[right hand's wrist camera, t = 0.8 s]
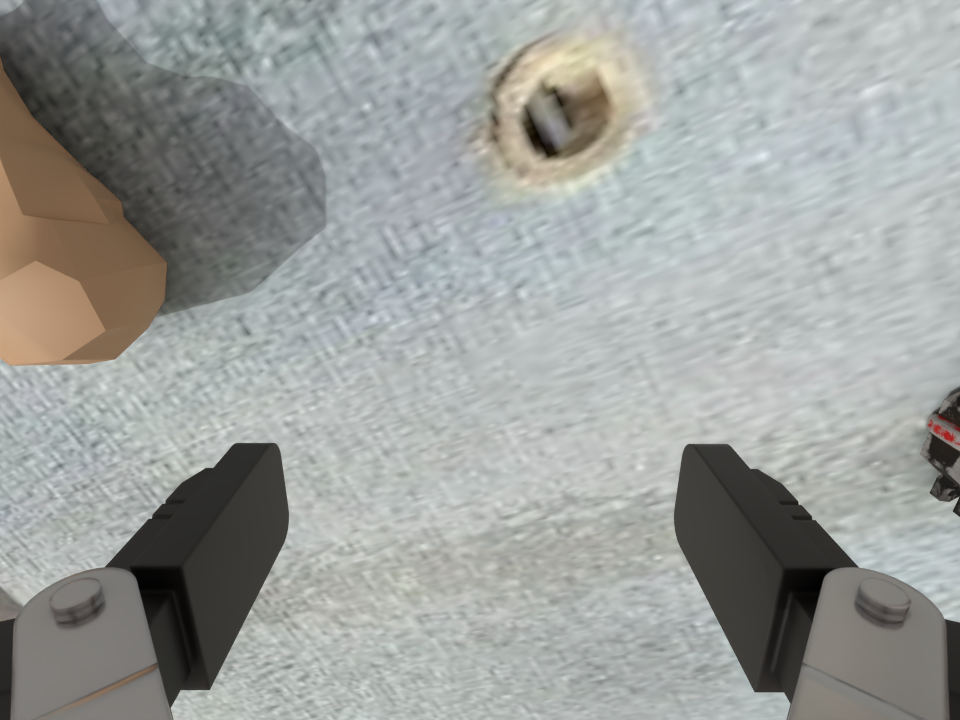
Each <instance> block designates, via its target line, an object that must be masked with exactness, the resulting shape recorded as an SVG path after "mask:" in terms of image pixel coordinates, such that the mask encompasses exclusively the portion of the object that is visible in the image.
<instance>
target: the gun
mask: <svg viewBox="0 0 960 720" xmlns="http://www.w3.org/2000/svg"><path fill="white" fill-rule="evenodd" d="M926 427H927V429H928V430H929V431H930V433H929V435H928V437H927V440H926V442H925V444H924V446H923V449H922V451H921V453H920V454H921V455H922V456H923V457H924V458H925V459H926V460H927V461H928V462H929V463H930V464H931V465H932V466H933V467H934V468H935V469H936V470H937V471H938V472H939V474H938V477H937V479H936V481H935V483H934V485H933V487H932V489H931V491H930V494H932V495H933V496H934V497H935V498H937V499H938V500H939V501H947V502H950V501H951V500H953V499H955V498H957V497H959V496H960V391H959V392H957V393H955V394H953V395H951V396H949V397H948V398H946V399H944V401H943V403H942V406H941V408H940V410H939V412H938V414H932V415H930V416H929V418H928V421H927V424H926ZM953 512H954V513H956V514H957V515H958V516H959V517H960V497H959V499H958V501H957V504H956V506H955V508H954V510H953Z"/></svg>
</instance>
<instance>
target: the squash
mask: <svg viewBox="0 0 960 720" xmlns="http://www.w3.org/2000/svg"><path fill="white" fill-rule="evenodd" d="M166 273H167V262H166V261H165V260H164V259H163V258H162V257H161V255H160V254H159V253H158V252H157V251H156V250H155V249H154V248H153V247H152V246H151V245H150V244H149V243H148V242H147V241H146V240H145V239H144V238H143V237H142V236H141V235H140V234H139V233H138V232H137V230H136V229H135V228H134V227H133V226H132V225H131V224H130V223H129V222H128V221H127V220H126V219H125V218H124V215H123V209H122V203H121V201H120V200H119V199H118V198H117V197H116V196H115V195H114V194H112V193H111V192H110V191H109V190H108V189H107V188H106V187H105V186H104V185H103V184H102V183H101V182H100V181H98V180H97V179H96V178H95V177H93V176H92V175H91V174H90V173H89V172H88V171H87V170H86V169H85V168H84V167H83V166H82V165H80V164H79V163H78V162H77V161H76V160H75V159H74V158H73V157H72V156H71V155H70V154H69V153H68V152H67V151H66V150H65V149H64V148H63V147H62V146H61V145H60V144H59V143H58V142H57V141H56V140H55V139H54V138H53V137H52V136H51V135H50V134H49V133H48V132H47V131H46V130H45V129H44V128H43V127H42V126H41V125H40V124H39V123H38V122H37V121H36V120H35V119H34V118H33V117H32V115H31V113H30V112H29V110H28V109H27V107H26V105H25V104H24V102H23V100H22V99H21V97H20V96H19V94H18V92H17V91H16V89H15V88H14V86H13V84H12V83H11V81H10V79H9V78H8V76H7V75H6V73H5V71H4V68H3V65H2V61H1V57H0V358H1V359H2V360H4V361H5V362H6V363H7V364H9V365H10V366H11V365H64V364H90V363H96V362H102V361H108V360H113V359H116V358H117V357H118V356H119V355H120V354H121V353H122V352H123V351H124V350H125V349H127V348H128V347H129V346H130V345H131V344H132V343H133V342H134V341H135V340H136V339H137V338H138V337H139V336H140V335H141V334H142V333H143V332H144V331H146V330H147V329H148V327H149V326H150V324H151V322H152V321H153V319H154V317H155V316H156V314H157V312H158V311H159V309H160V307H161V306H162V304H163V302H164V301H165V287H166Z"/></svg>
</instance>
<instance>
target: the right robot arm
mask: <svg viewBox="0 0 960 720" xmlns="http://www.w3.org/2000/svg"><path fill="white" fill-rule="evenodd" d="M288 523H289V510H288V502H287V495H286V488H285V481H284V474H283V467H282V459H281V453H280V450H279V447H278V446H277V444H275V443H236V444H234V445H233V446H232V447H231V448H230V449H229V450H228V451H227V453H226V454H225V455H224V456H223V457H222V459H221V460H220V461H219V462H218V463H217V464H216V466H215V467H214V468H205V469H204V470H202V471H200V472H199V473H197V474H196V475H194V476H192V477H191V478H189V479H187V480H186V481H184V482H182V483H181V484H180V485H179V486H178V487H177V489H176V490H175V491H174V492H173V493H172V494H171V495H170V496H169V497H168V498H167V500H166V503H165V504H162V505H161V506H160V507H159V508H158V509H157V511H156V512H155V513H154V514H153V515H152V519H148V520H147V522H146V523H145V524H144V525H143V526H142V527H141V528H140V529H139V530H138V531H137V532H136V534H135V535H134V536H133V537H132V538H131V539H130V540H129V541H128V542H127V543H126V545H125V546H124V547H123V548H122V549H121V550H120V551H119V552H118V553H117V554H116V556H115V557H114V558H113V559H112V560H111V561H110V562H109V563H108V564H107V565H106V566H105V567H104V568H96V569H91V570H87V571H83V572H80V573H77V574H74V575H71V576H69V577H66V578H64V579H62V580H60V581H58V582H56V583H54V584H52V585H50V586H49V587H47V588H45V589H44V590H42V591H41V592H39V593H38V594H37V595H35V596H34V597H33V598H32V599H31V600H30V601H28V603H27V604H26V605H25V606H24V607H23V608H22V609H21V611H20V612H19V613H18V615H17V617H16V618H15V619H10V620H6V621H1V622H0V720H173V716H172V712H171V709H170V708H171V706H172V705H173V703H174V701H175V699H176V697H177V696H178V694H179V692H180V690H210V688H211V686H212V684H213V682H214V680H215V678H216V676H217V675H218V673H219V671H220V669H221V667H222V665H223V663H224V661H225V659H226V657H227V655H228V653H229V651H230V649H231V647H232V645H233V643H234V641H235V639H236V637H237V635H238V633H239V631H240V629H241V627H242V625H243V623H244V621H245V619H246V617H247V615H248V613H249V611H250V609H251V607H252V605H253V603H254V601H255V599H256V597H257V595H258V593H259V591H260V590H261V588H262V586H263V584H264V582H265V580H266V578H267V576H268V574H269V572H270V570H271V568H272V566H273V564H274V562H275V560H276V558H277V556H278V554H279V552H280V550H281V548H282V546H283V544H284V542H285V539H286V535H287V531H288ZM674 525H675V532H676V537H677V540H678V543H679V545H680V547H681V549H682V551H683V553H684V555H685V557H686V559H687V561H688V563H689V565H690V567H691V569H692V571H693V573H694V574H695V576H696V578H697V580H698V582H699V584H700V586H701V588H702V590H703V592H704V594H705V596H706V598H707V600H708V602H709V604H710V606H711V608H712V610H713V612H714V614H715V616H716V617H717V619H718V621H719V623H720V625H721V627H722V629H723V631H724V633H725V635H726V637H727V639H728V641H729V643H730V645H731V647H732V649H733V651H734V653H735V655H736V657H737V658H738V660H739V662H740V664H741V666H742V668H743V670H744V672H745V674H746V676H747V678H748V680H749V682H750V684H751V686H752V688H753V690H754V692H784V693H785V695H786V696H787V698H788V700H789V702H790V703H791V705H790V709H789V712H788V716H787V720H960V623H959V622H955V621H950V620H946V619H944V617H943V615H942V613H941V612H940V611H939V609H938V608H937V607H936V606H935V605H934V604H933V603H932V601H930V600H929V599H928V598H927V597H926V596H925V595H923V594H922V593H920V592H919V591H918V590H916V589H915V588H913V587H911V586H910V585H908V584H906V583H904V582H902V581H900V580H898V579H896V578H894V577H891V576H889V575H886V574H883V573H880V572H877V571H873V570H869V569H864V568H859V567H858V566H857V565H856V564H855V563H854V562H853V561H852V560H851V558H850V557H849V556H848V555H847V554H846V553H845V552H844V551H843V550H842V549H841V548H840V546H839V545H838V544H837V543H836V542H835V541H834V540H833V539H832V538H831V537H830V536H829V535H828V533H827V532H826V531H825V530H824V529H823V528H822V527H821V526H820V525H819V524H818V523H817V521H816V520H812V516H811V515H810V514H809V513H808V512H807V511H806V510H805V508H804V507H803V506H802V505H799V504H798V501H797V500H796V499H795V498H794V496H793V495H792V494H791V493H790V492H789V491H788V490H787V489H786V488H785V487H784V486H783V485H782V484H781V483H779V482H778V481H776V480H775V479H773V478H771V477H770V476H768V475H766V474H765V473H763V472H761V471H760V470H758V469H750V468H749V467H748V466H747V465H746V464H745V462H744V461H743V460H742V459H741V458H740V457H739V455H738V454H737V453H736V452H735V451H734V450H733V448H732V447H731V446H730V445H728V444H688V445H686V447H685V448H684V451H683V455H682V461H681V468H680V475H679V482H678V489H677V496H676V503H675V510H674Z"/></svg>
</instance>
